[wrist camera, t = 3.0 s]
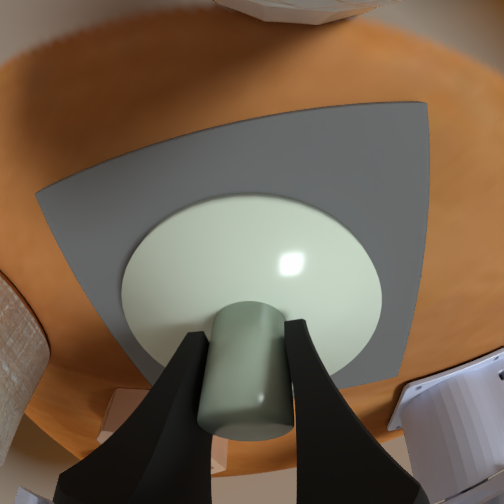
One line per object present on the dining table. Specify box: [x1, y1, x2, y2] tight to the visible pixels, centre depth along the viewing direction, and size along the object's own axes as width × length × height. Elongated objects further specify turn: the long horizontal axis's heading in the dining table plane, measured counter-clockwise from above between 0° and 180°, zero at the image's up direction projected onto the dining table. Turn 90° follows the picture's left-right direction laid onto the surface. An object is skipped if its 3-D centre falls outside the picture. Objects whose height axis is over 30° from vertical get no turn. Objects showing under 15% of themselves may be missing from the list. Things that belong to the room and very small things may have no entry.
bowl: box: [96, 388, 228, 474], centre depth 17 cm, size 9×9×4 cm
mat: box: [35, 101, 430, 396], centre depth 12 cm, size 14×14×1 cm
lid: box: [121, 192, 382, 441], centre depth 9 cm, size 10×10×5 cm
